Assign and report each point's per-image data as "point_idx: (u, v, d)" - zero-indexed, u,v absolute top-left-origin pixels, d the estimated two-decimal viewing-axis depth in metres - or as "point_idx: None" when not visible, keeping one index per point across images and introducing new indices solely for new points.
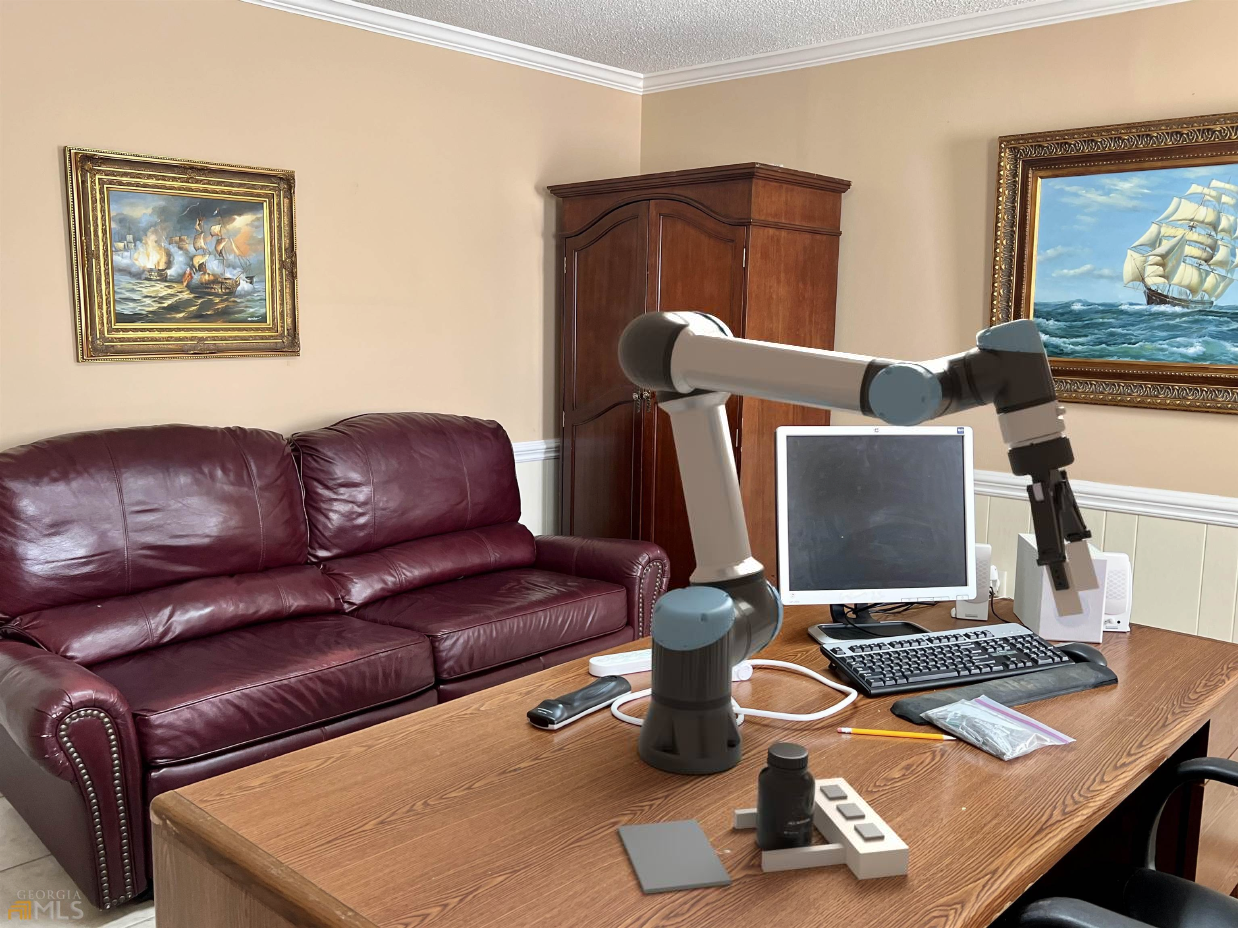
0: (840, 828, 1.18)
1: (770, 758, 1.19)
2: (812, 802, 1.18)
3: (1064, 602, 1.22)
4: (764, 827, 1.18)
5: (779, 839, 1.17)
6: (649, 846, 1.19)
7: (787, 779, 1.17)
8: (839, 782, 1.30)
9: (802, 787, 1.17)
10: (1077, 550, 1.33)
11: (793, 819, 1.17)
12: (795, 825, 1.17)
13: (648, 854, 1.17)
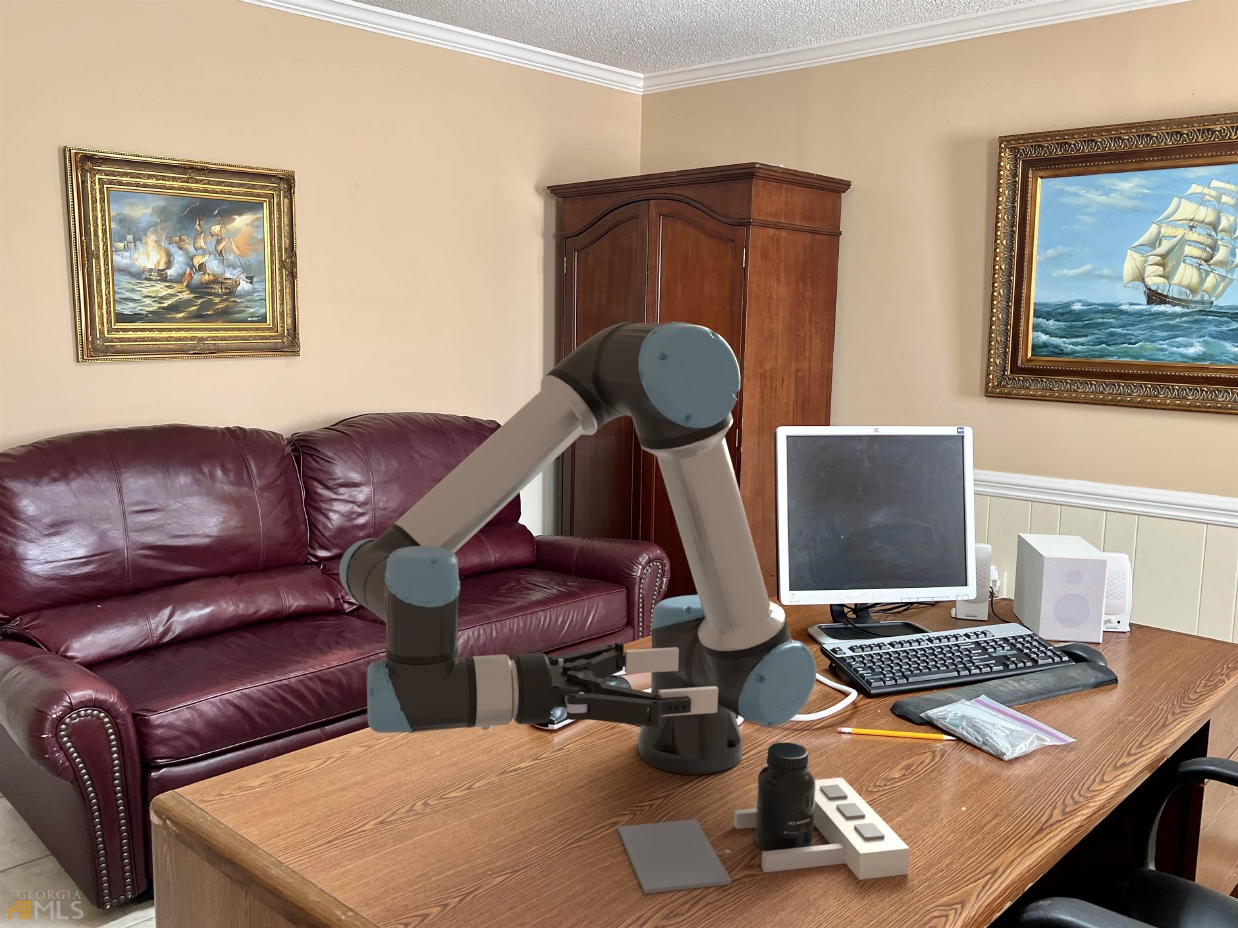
0: (840, 828, 1.18)
1: (770, 758, 1.19)
2: (812, 802, 1.18)
3: None
4: (764, 827, 1.18)
5: (779, 839, 1.17)
6: (649, 846, 1.19)
7: (787, 779, 1.17)
8: (839, 782, 1.30)
9: (802, 787, 1.17)
10: None
11: (793, 819, 1.17)
12: (795, 825, 1.17)
13: (648, 854, 1.17)
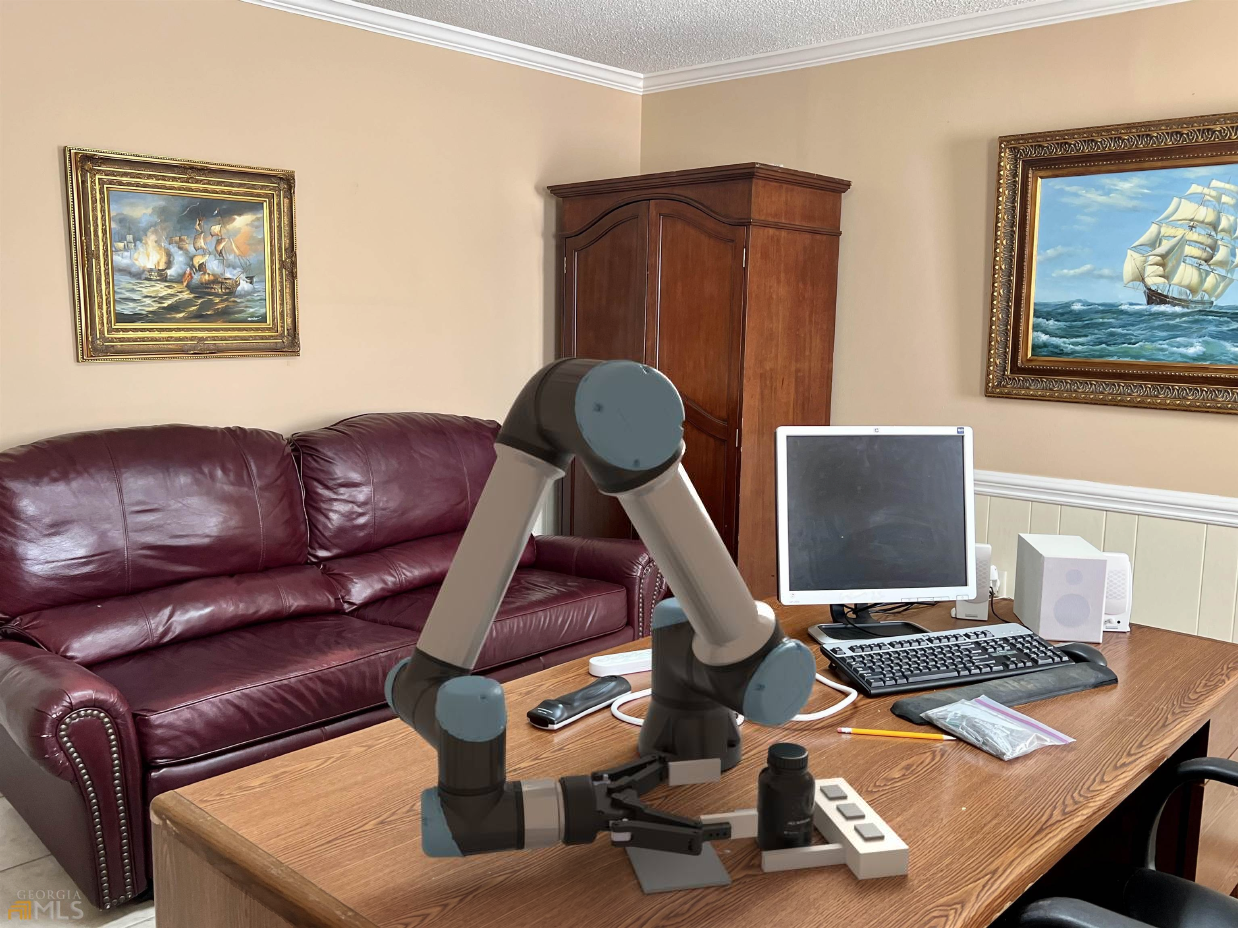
0: (840, 828, 1.18)
1: (770, 758, 1.19)
2: (812, 802, 1.18)
3: None
4: (764, 827, 1.18)
5: (779, 839, 1.17)
6: None
7: (787, 779, 1.17)
8: (839, 782, 1.30)
9: (802, 787, 1.17)
10: None
11: (793, 819, 1.17)
12: (795, 825, 1.17)
13: (648, 854, 1.17)
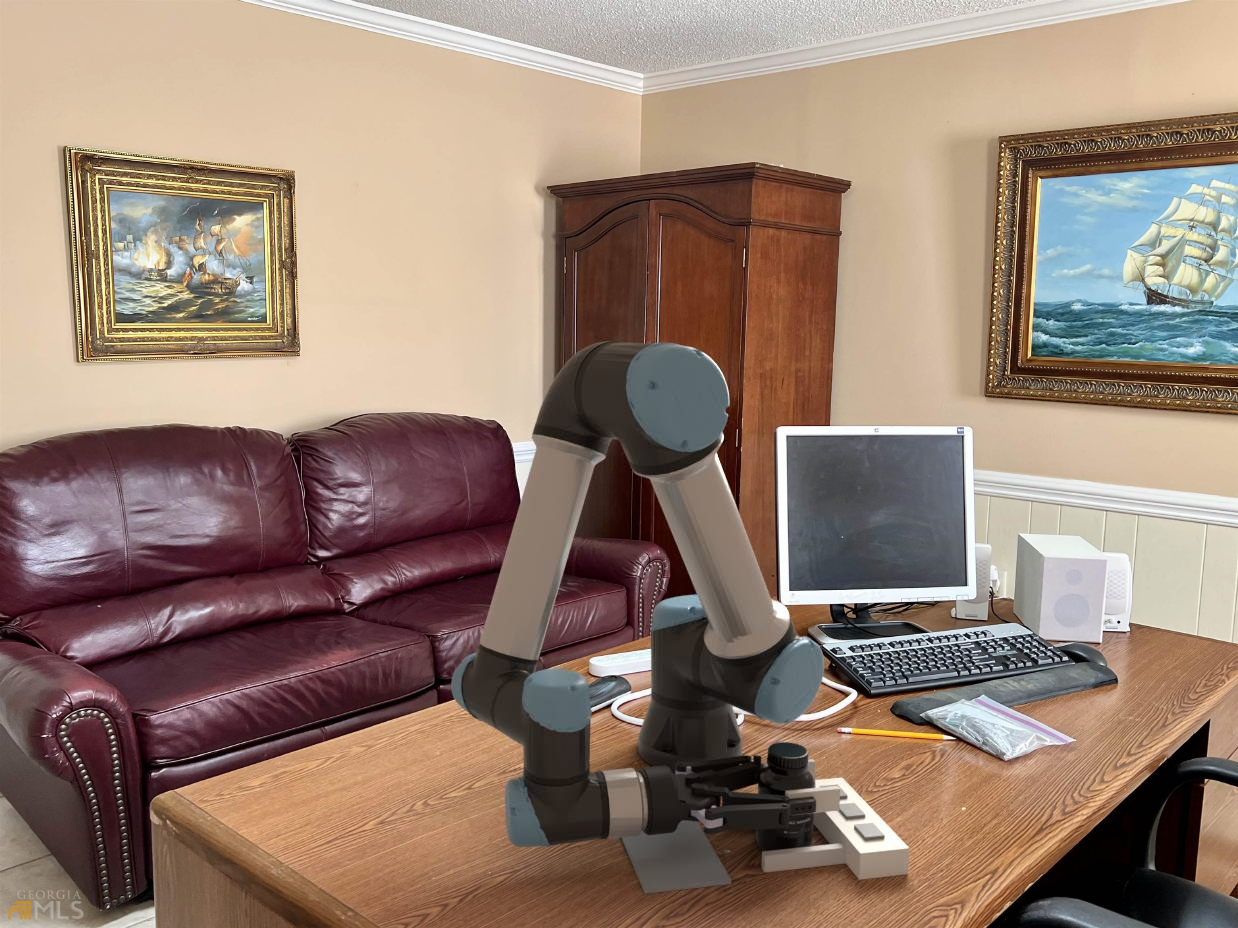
0: (840, 828, 1.18)
1: (770, 758, 1.19)
2: None
3: None
4: None
5: (779, 838, 1.17)
6: (649, 846, 1.19)
7: (787, 778, 1.17)
8: (839, 782, 1.30)
9: (802, 787, 1.17)
10: None
11: (793, 819, 1.17)
12: (795, 825, 1.17)
13: (648, 854, 1.17)
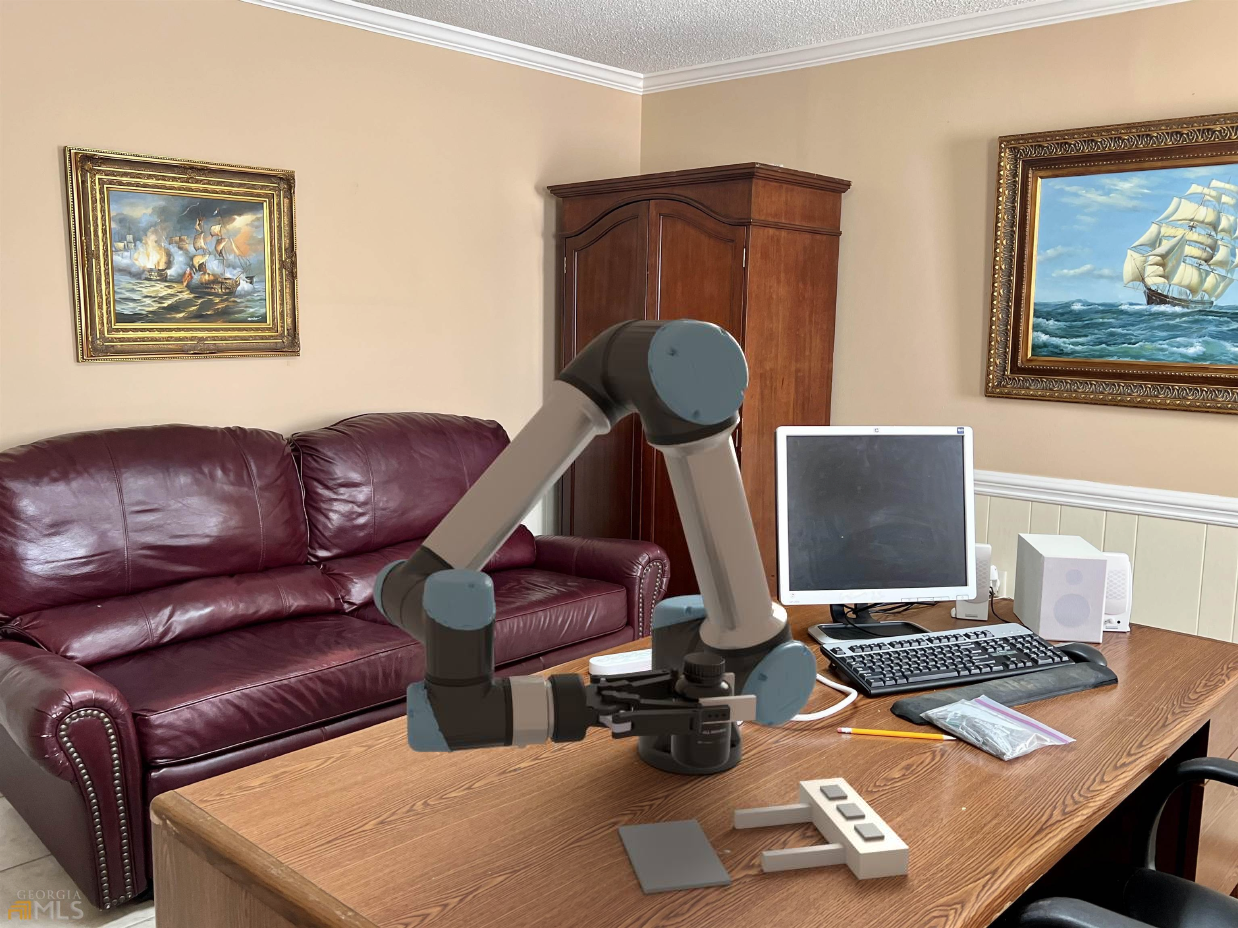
0: (840, 828, 1.18)
1: (685, 666, 1.14)
2: None
3: None
4: (679, 737, 1.14)
5: (693, 749, 1.13)
6: (649, 846, 1.19)
7: (702, 687, 1.13)
8: (839, 782, 1.30)
9: (717, 695, 1.13)
10: None
11: (708, 728, 1.13)
12: (710, 735, 1.13)
13: (648, 854, 1.17)
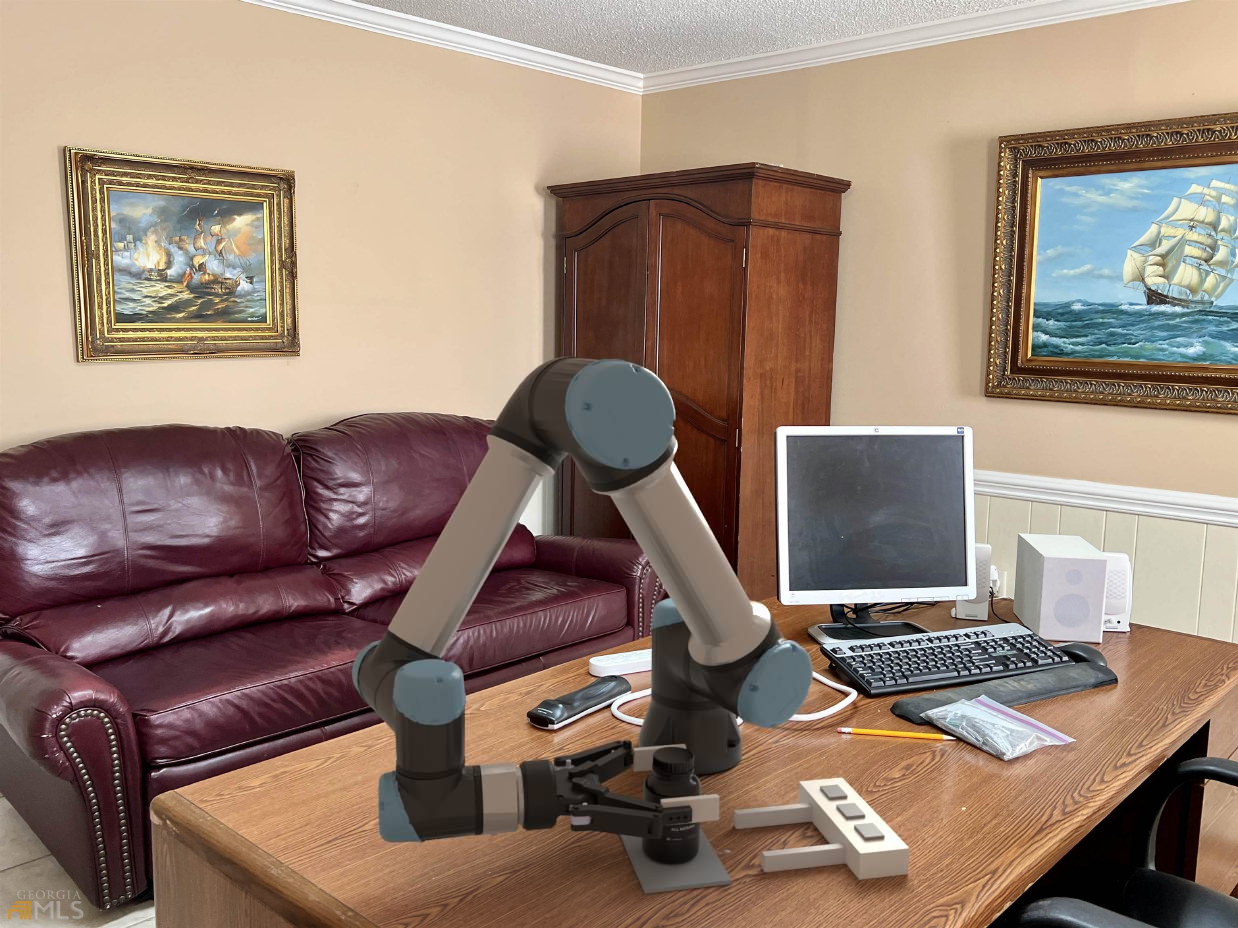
0: (840, 828, 1.18)
1: (654, 763, 1.16)
2: None
3: None
4: None
5: (662, 846, 1.14)
6: None
7: (670, 784, 1.14)
8: (839, 782, 1.30)
9: (686, 793, 1.14)
10: None
11: (676, 825, 1.14)
12: (678, 832, 1.14)
13: None
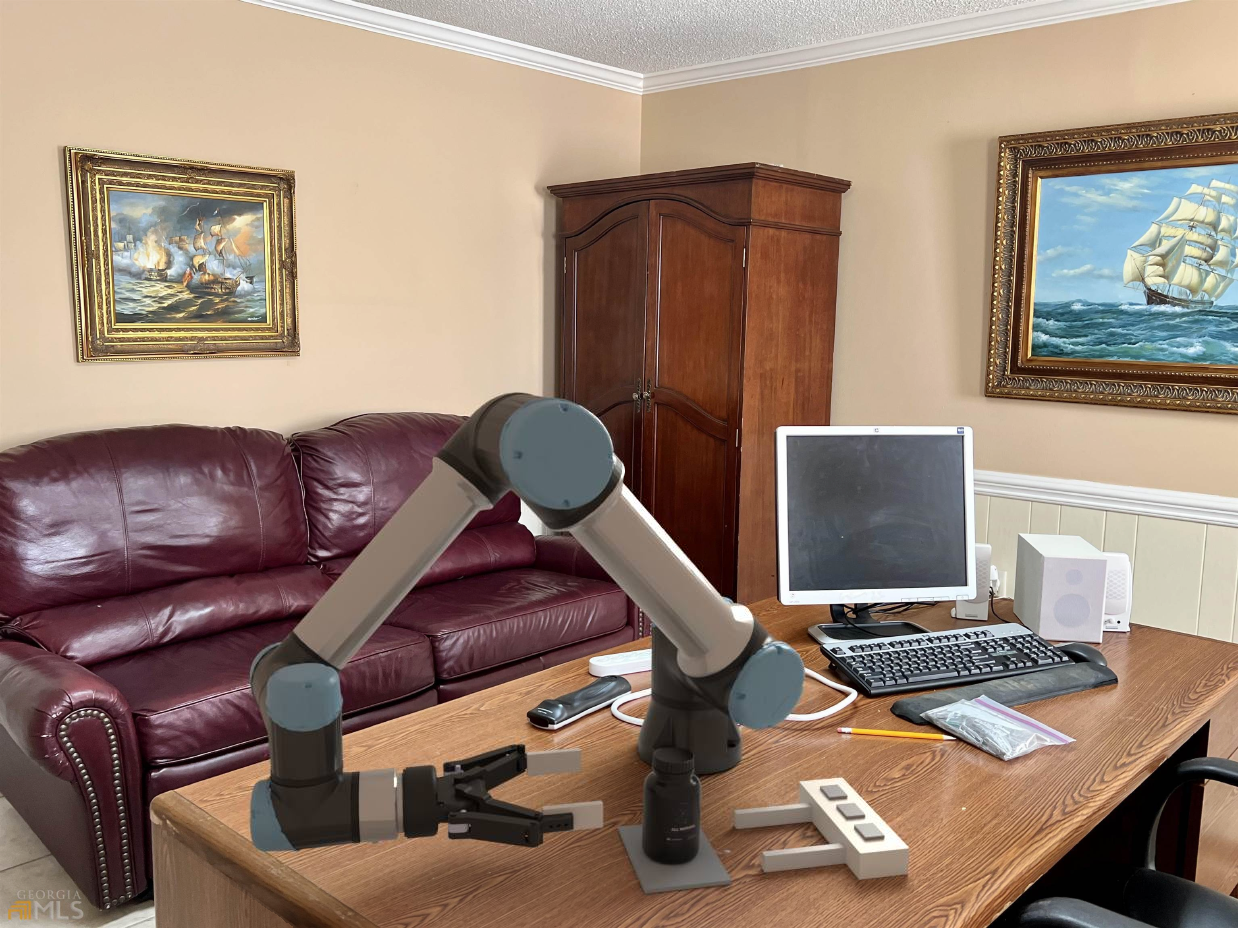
0: (840, 828, 1.18)
1: (654, 763, 1.16)
2: (697, 808, 1.15)
3: None
4: (648, 833, 1.16)
5: (662, 846, 1.14)
6: None
7: (671, 784, 1.14)
8: (839, 782, 1.30)
9: (686, 793, 1.14)
10: None
11: (677, 825, 1.14)
12: (678, 832, 1.14)
13: None
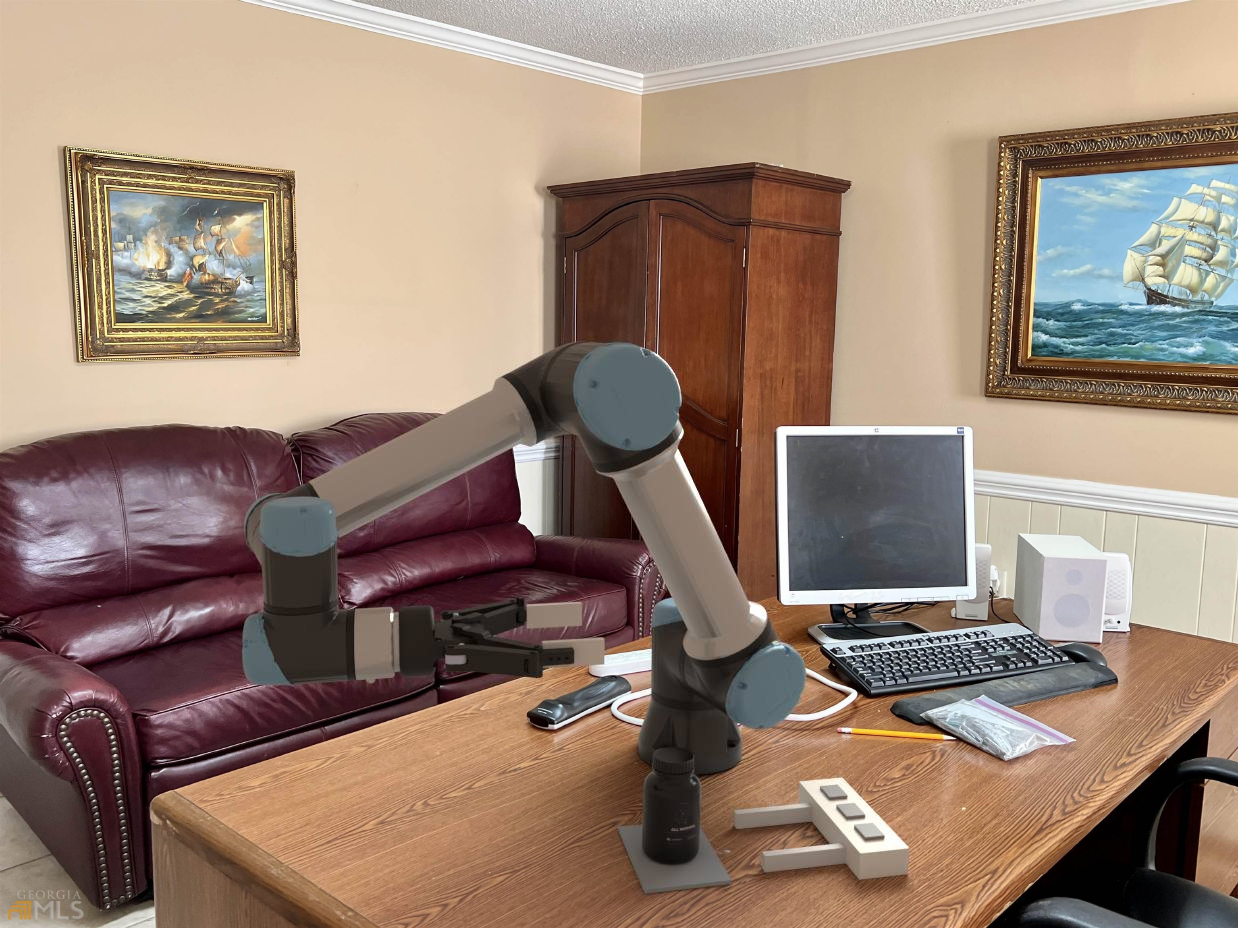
0: (840, 828, 1.18)
1: (654, 763, 1.16)
2: (697, 808, 1.15)
3: None
4: (648, 833, 1.16)
5: (662, 846, 1.14)
6: None
7: (671, 784, 1.14)
8: (839, 782, 1.30)
9: (686, 793, 1.14)
10: None
11: (677, 825, 1.14)
12: (678, 832, 1.14)
13: None
